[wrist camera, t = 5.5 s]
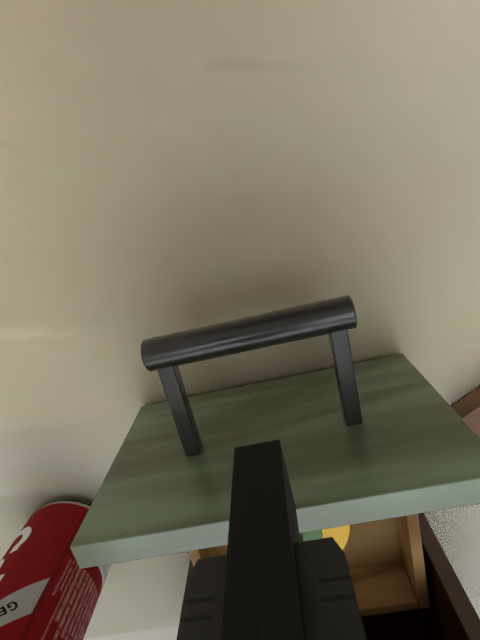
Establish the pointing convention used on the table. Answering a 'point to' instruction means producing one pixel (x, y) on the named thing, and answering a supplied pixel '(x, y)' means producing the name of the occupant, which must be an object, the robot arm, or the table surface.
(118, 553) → the drawer
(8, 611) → the soda can
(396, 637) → the cabinet
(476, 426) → the cutting board
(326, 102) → the table surface
